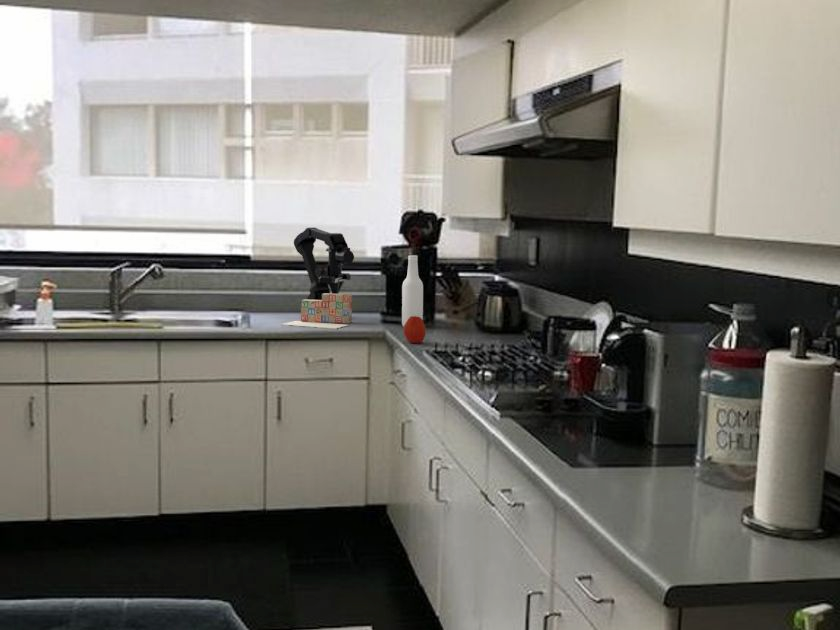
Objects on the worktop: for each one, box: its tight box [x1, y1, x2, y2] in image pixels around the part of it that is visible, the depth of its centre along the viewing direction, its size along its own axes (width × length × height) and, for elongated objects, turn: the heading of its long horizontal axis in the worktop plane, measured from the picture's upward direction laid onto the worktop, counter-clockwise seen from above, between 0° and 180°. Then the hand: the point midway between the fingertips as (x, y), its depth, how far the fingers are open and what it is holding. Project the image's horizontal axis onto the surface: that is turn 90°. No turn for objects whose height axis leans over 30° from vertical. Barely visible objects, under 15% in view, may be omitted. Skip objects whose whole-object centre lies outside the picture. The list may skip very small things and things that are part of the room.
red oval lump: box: [402, 316, 426, 344], centre depth 342 cm, size 8×8×11 cm
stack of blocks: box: [300, 292, 353, 324], centre depth 394 cm, size 21×6×12 cm, turn 84°
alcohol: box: [401, 254, 424, 328], centre depth 383 cm, size 9×9×30 cm
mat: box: [282, 320, 349, 330], centre depth 385 cm, size 12×26×1 cm, turn 67°
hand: (334, 297), depth 401 cm, fingers closed
